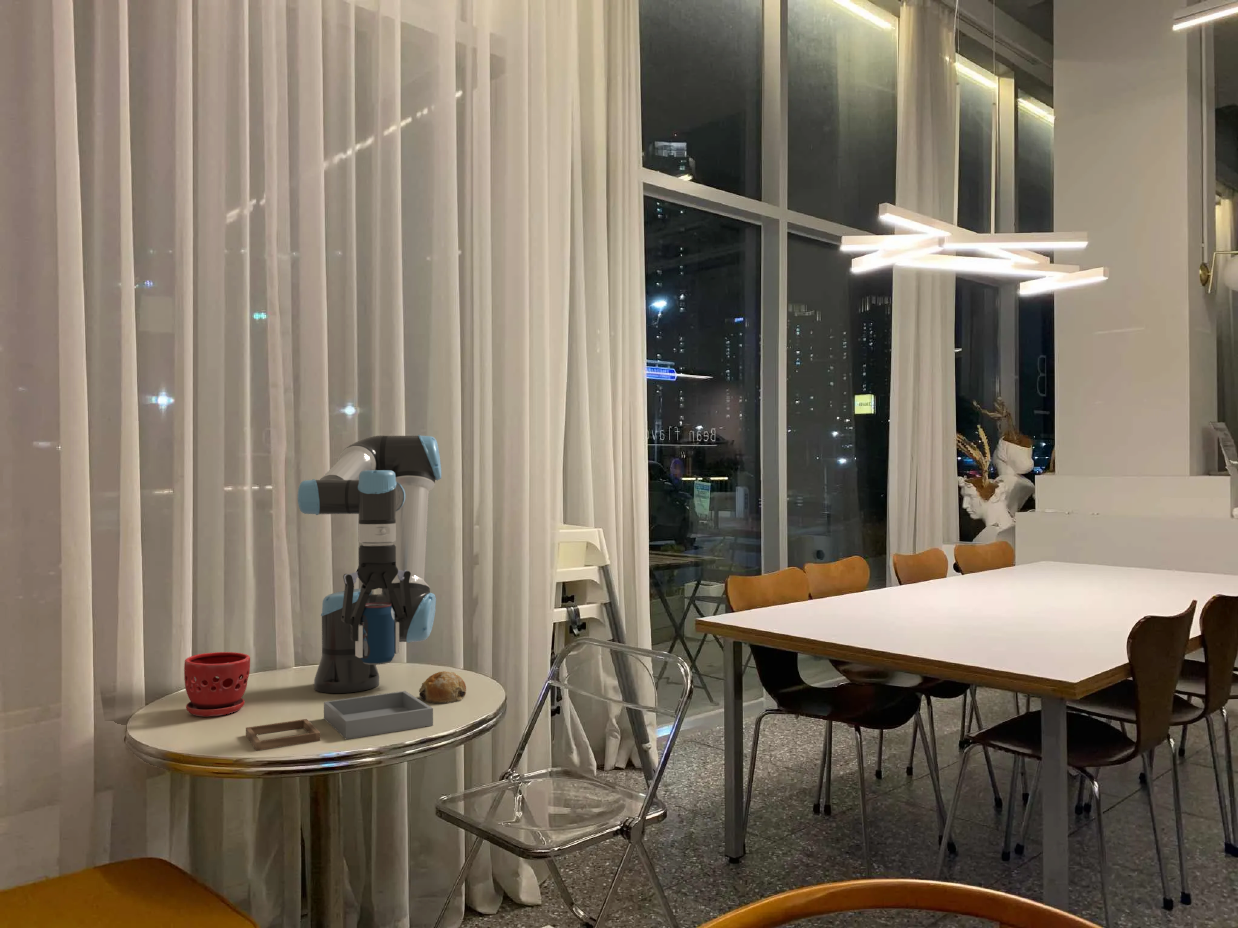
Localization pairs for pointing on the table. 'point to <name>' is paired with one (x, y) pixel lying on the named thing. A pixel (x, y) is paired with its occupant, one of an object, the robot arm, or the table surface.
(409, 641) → the robot arm
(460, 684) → the bread roll
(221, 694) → the plant pot
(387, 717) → the grey bin
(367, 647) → the soda can
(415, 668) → the table surface
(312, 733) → the walnut frame
